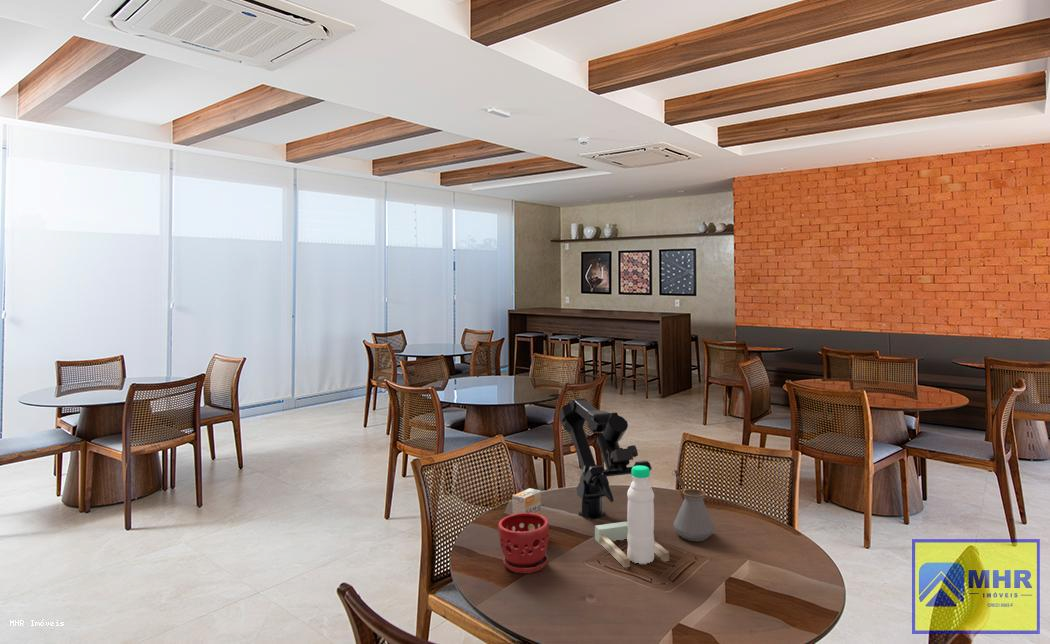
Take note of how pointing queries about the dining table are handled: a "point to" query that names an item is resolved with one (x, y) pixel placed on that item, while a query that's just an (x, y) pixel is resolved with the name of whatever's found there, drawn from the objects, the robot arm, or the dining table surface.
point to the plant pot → (524, 542)
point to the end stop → (612, 531)
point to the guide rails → (622, 557)
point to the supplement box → (527, 504)
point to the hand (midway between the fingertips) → (627, 499)
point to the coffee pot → (693, 515)
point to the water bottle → (640, 517)
